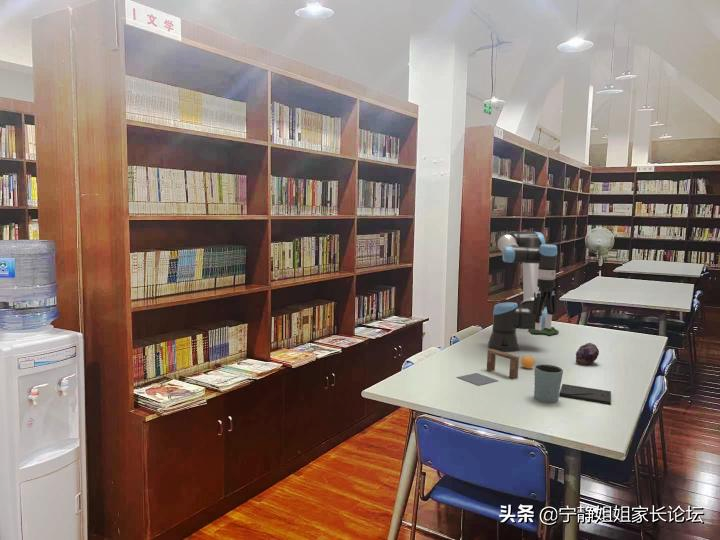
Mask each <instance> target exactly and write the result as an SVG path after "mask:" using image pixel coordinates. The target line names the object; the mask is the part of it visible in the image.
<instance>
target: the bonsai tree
mask: <svg viewBox="0 0 720 540" xmlns="http://www.w3.org/2000/svg"><path fill="white" fill-rule="evenodd" d="M518 288H520V289H521V290H523V281H521V282H520V284H518ZM519 300H520V301H521V302H522V301H523V300H524V298H523V296H522V297H521V298H520V299H519ZM544 305H546V302H544ZM527 331H529V332H530V334H531V335H534V334H537V335H538V334H544V335H546V336H553V335H554V334H555V335H557V334H559V330H558V329H556V328H555V327H554V326H553V327H552V326H551V329H548V328H544V329H542V330H532V329H527Z"/></svg>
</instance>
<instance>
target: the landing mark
mask: <svg viewBox="0 0 720 540" xmlns="http://www.w3.org/2000/svg"><path fill="white" fill-rule="evenodd" d="M456 378H457V379H460V380H462V381H465V382H468V383H470V384H473V385H475V386H479V387H480V386H482V385H488V384H491V383H497V382H498V381H499V380H498V379H495V378H493V377H490V376H486V375H484V374H481V373H478V372H475V373H470V374H466V375H459V376H456Z"/></svg>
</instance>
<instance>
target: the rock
mask: <svg viewBox="0 0 720 540" xmlns="http://www.w3.org/2000/svg"><path fill="white" fill-rule="evenodd" d="M599 355H600V351H599V348H598V346H597V345H596V344H594V343H593V342H587V343H585V344H582V345H580V346H579V348H578V350H577V351H576V352H575V364H578V365H581V366H585V365H586V366H587V365H593V364H594V362H595V361H596V360H597V359H598V357H599Z"/></svg>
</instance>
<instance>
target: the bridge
mask: <svg viewBox="0 0 720 540" xmlns="http://www.w3.org/2000/svg"><path fill="white" fill-rule="evenodd" d="M496 356H499V357H503V358H504V359H508V360H510V361H509V375H508V378H509V379H512V380H514V379H518V377H519V363H520V356H519V355H516V354H512V353H508V352H506V351H498V350H495V349H491V348H489V349H487V359H486V371H489V372H492V371H493V372H494V371H495V370H496Z"/></svg>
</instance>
